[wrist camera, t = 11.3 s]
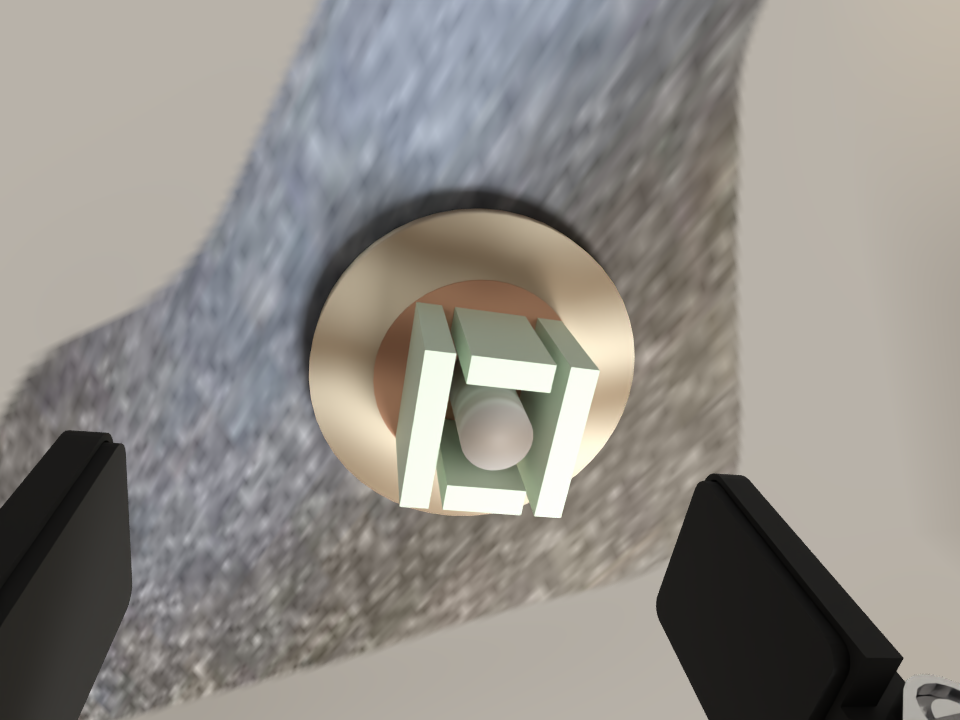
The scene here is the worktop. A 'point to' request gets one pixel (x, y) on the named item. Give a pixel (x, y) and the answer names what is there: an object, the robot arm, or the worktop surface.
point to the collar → (495, 363)
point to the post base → (453, 283)
